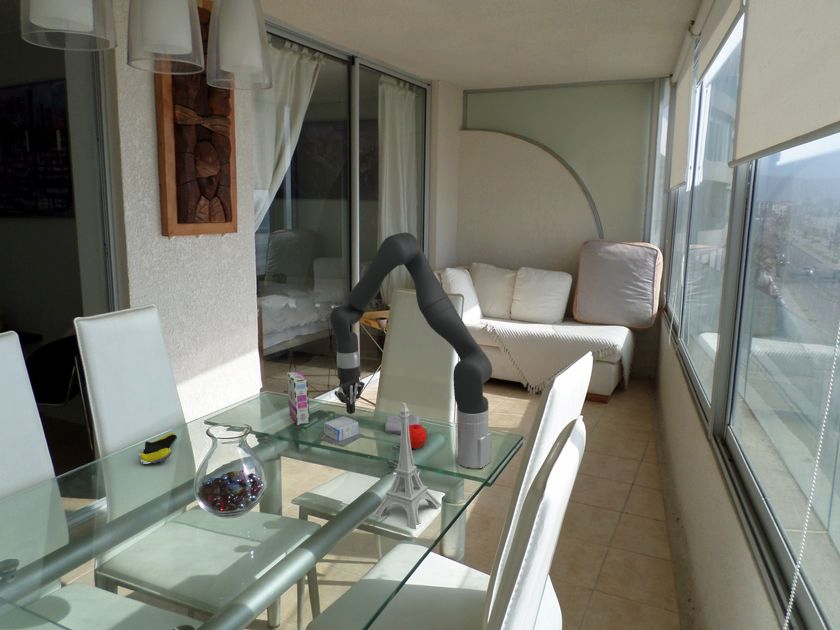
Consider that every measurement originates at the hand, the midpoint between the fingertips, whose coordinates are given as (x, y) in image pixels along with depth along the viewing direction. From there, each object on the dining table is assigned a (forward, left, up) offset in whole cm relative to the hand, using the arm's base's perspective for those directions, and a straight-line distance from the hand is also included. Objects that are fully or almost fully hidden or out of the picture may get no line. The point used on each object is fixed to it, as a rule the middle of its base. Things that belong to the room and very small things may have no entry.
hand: (351, 413), depth 219 cm
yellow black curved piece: (+39, +47, -7) cm, 62 cm away
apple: (-25, -3, -7) cm, 26 cm away
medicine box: (0, -1, -4) cm, 4 cm away
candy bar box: (+23, +1, -7) cm, 25 cm away
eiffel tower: (-46, +29, -7) cm, 55 cm away
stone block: (-13, -11, -8) cm, 19 cm away
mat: (0, +5, -7) cm, 9 cm away
